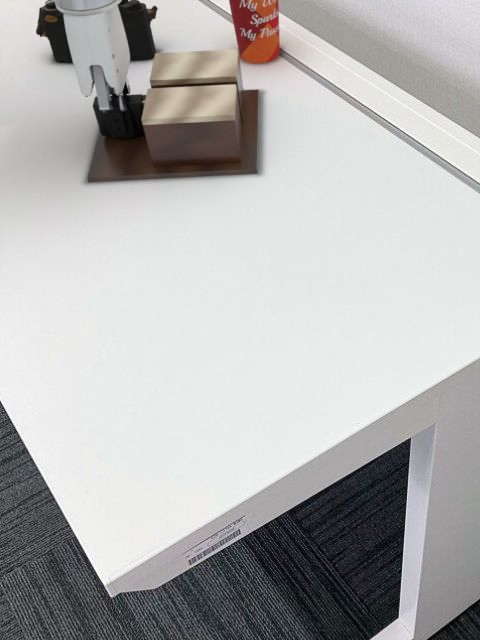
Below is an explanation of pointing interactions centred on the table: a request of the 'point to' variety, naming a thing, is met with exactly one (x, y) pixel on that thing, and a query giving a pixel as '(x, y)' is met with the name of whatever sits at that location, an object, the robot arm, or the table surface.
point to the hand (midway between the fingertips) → (124, 129)
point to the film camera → (133, 21)
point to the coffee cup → (256, 29)
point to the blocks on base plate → (187, 123)
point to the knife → (131, 101)
